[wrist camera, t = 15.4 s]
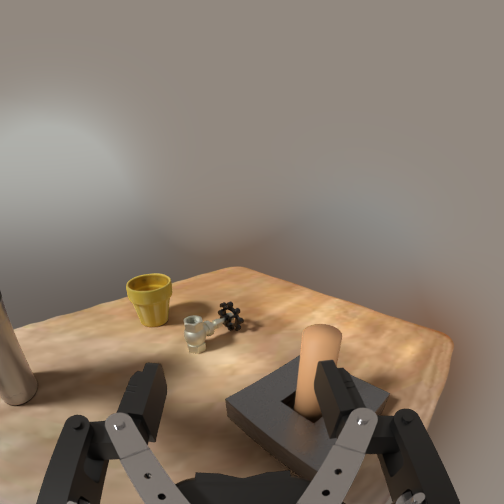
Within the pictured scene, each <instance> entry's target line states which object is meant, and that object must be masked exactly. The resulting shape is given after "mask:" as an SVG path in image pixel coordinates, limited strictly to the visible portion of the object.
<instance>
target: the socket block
mask: <svg viewBox="0 0 504 504" xmlns="http://www.w3.org/2000/svg"><path fill="white" fill-rule="evenodd" d="M299 362H300V355H299V356H298V357H296V358H295V359H293V360H291V361H290V362H288V363H287V364H285V365H284V366H282V367H280V368H279V369H277V370H275V371H274V372H272V373H270V374H269V375H267V376H265V377H264V378H262V379H260V380H259V381H257V382H255V383H253V384H252V385H250V386H248V387H246V388H244V389H243V390H241V391H239V392H237V393H235V394H233V395H232V396H230V397H228V398H226V399H225V400H226V408H227V416H228V417H229V418H230V419H231V420H232V421H233V422H234V423H235V424H236V425H237V426H238V427H240V428H241V429H242V430H243V431H244V432H245V433H246V434H247V435H249V436H250V437H251V438H252V439H253V440H254V441H256V442H257V443H258V444H259V445H260V446H262V447H263V448H264V449H265V450H266V451H268V452H269V453H270V454H271V455H273V456H274V457H275V458H276V459H278V460H279V461H280V462H282V463H283V464H284V465H286V466H287V467H288V468H290V469H291V470H292V471H294V472H295V473H296V474H298V475H299V476H301V477H302V478H305V479H308V480H310V481H312V480H313V478H314V477H315V475H316V474H317V472H318V470H319V469H320V467H321V466H322V464H323V462H324V461H325V459H326V457H327V455H328V454H329V452H330V450H331V448H332V447H333V445H334V444H335V443H336V441H337V438H333V439H330V438H329V435H328V432H327V429H326V426H325V423H324V420H323V416H322V417H321V418H320V419H319V420H318V421H317V422H316V423H312V422H310V421H309V420H307V419H306V418H304V417H303V416H301V415H300V414H298V413H297V412H295V411H294V410H292V409H293V408H294V405H295V397H296V389H297V380H298V371H299ZM351 377H352V379H353V382H354V384H355V386H356V388H357V390H358V392H359V394H360V396H361V398H362V400H363V402H364V404H365V406H366V408H368V409H371V410H372V411H374V412H375V413H376V415H380V414H381V412H382V411H383V409H384V406H385V404H386V402H387V399H388V397H389V395H390V393H388V392H386V391H384V390H382V389H379V388H377V387H375V386H373V385H371V384H369V383H367V382H365V381H363V380H360V379H358V378H356V377H354V376H352V375H351Z"/></svg>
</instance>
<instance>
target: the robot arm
mask: <svg viewBox="0 0 504 504" xmlns="http://www.w3.org/2000/svg"><path fill="white" fill-rule="evenodd" d="M37 387H38V384H37V380H36V378H35V376H34V374H33V373H32V371H31V369H30V367H29V364H28V362H27V360H26V358H25V356H24V354H23V351H22V349H21V347H20V345H19V342H18V340H17V338H16V335H15V333H14V330H13V328H12V325H11V322H10V320H9V317H8V314H7V311H6V308H5V305H4V302H3V299H2V295H1V292H0V396H1V397H2V399H3V400H4V401H5V402H6V403H7V404H10V405H20V404H23V403H25V402H27V401H28V400H30V399H31V398H32V397H33V396H34V394H35V393H36V390H37ZM314 391H315V395H316V398H317V401H318V404H319V407H320V410H321V413H322V416H323V420H324V423H325V426H326V429H327V432H328V435H329V438H330V439H333V438H337V441H336V443H335V444H334V445H333V447H332V448H331V450H330V452H329V454H328V455H327V457H326V459H325V461H324V462H323V464H322V466H321V467H320V469H319V470H318V472H317V474H316V475H315V477H314V478H313V480H312V481H310V480H308V479H305V478H302V477H298V476H291V475H290V470H288V471H278V472H266V473H263V474H259V475H255V476H251V477H247V478H238V477H233V476H228V475H223V474H219V473H197V472H196V475H195V478H190V479H186V480H183V481H181V482H179V483H177V484H174V483H173V481H172V480H171V479H170V477H169V476H168V475H167V473H166V472H165V470H164V469H163V467H162V466H161V465H160V463H159V462H158V460H157V459H156V457H155V456H154V454H153V453H152V451H151V450H150V448H149V447H148V446H147V445H148V441H149V442H156V437H157V433H158V428H159V424H160V420H161V416H162V411H163V407H164V403H165V399H166V395H167V384H166V380H165V377H164V373H163V369H162V365H161V364H158V363H146V364H145V367H144V369H143V372H140V371H137V372H136V373H135V374H134V375H133V376H132V377H131V378H130V381H129V383H128V386H127V388H126V392H125V393H124V395H123V398H122V400H121V403H120V405H119V408H118V410H117V413H114V414H112V415H110V416H109V417H108V418H107V419H106V421H98V422H89V421H88V419H87V418H86V417H84V416H82V415H74V416H71V417H70V418H68V419H67V420H66V422H65V424H64V427H63V429H62V432H61V434H60V436H59V439H58V441H57V444H56V447H55V449H54V452H53V454H52V457H51V460H50V463H49V465H48V468H47V471H46V474H45V477H44V480H43V483H42V486H41V490H40V493H39V496H38V500H37V503H36V504H100V500H101V495H102V490H103V485H104V480H105V476H106V471H107V467H108V463H109V460H111V459H120V462H121V464H122V466H123V467H124V469H125V471H126V473H127V475H128V477H129V478H130V480H131V482H132V483H133V485H134V487H135V489H136V490H137V492H138V493H139V495H140V497H141V498H142V500H143V501H144V503H145V504H345V503H344V502H342V501H343V499H344V498H345V496H346V494H347V492H348V490H349V488H350V486H351V484H352V482H353V480H354V478H355V476H356V474H357V472H358V470H359V468H360V466H361V464H362V461H363V459H364V457H365V454H377V455H378V458H379V461H380V464H381V467H382V470H383V473H384V476H385V479H386V482H387V485H388V489H389V492H390V495H391V498H392V501H393V503H392V504H460V502H459V499H458V497H457V494H456V492H455V490H454V487H453V485H452V483H451V481H450V478H449V476H448V474H447V472H446V470H445V467H444V465H443V463H442V461H441V459H440V457H439V455H438V453H437V451H436V449H435V447H434V445H433V442H432V440H431V439H430V437H429V435H428V433H427V431H426V429H425V427H424V425H423V423H422V421H421V419H420V417H419V415H418V414H417V413H416V412H415V411H413V410H411V409H401V410H399V411H397V412H396V413H395V415H394V416H379V415H376V413H375V412H374V411H372V410H371V409H368V408H366V406H365V404H364V402H363V400H362V398H361V396H360V394H359V392H358V390H357V388H356V386H355V384H354V382H353V379H352V377H351V375H350V373H348V372H347V371H346V370H345V369H344V368H337V367H336V364H335V362H334V360H324V361H319V362H318V364H317V369H316V374H315V379H314Z"/></svg>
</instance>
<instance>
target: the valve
mask: <svg viewBox="0 0 504 504" xmlns="http://www.w3.org/2000/svg"><path fill="white" fill-rule="evenodd" d="M220 307H223V309H221V310H219V311H218V314H219V315H220V316H221V317H220V319H215V320H213V321H212V322H209V321H205V322H203V321H202V318H201V317H200V316H188V317H186V318H185V319H184V326H185V330H184V338H185V341H186V342H187V344H188V349H189V352H190V353H195V354H200V353H202V352H203V351H205V350H206V344H205V339H206V336H211V335H213V334H214V330H215V329H217V328H219V327H221V326H222V324H223V325H225V327H227V328H228V330H230V331H231V330H233V329H234V326H235V327H236V329H235V330H236V331H238V330H240V329H241V326H240V325H239V324H241V323H243V322H244V320H243V318H240V317H239V316H238V314H239V313H240V309H239V308H236V309H234V308H233V303H232V302H228V303H227V304H226V303H225V302H224V303H221V304H220ZM227 309H228V310H230V311H232V313H233V314H234V315H233V314H232V313H226V310H227ZM234 318H235V323H231V321H232V320H234Z"/></svg>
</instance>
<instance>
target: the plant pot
mask: <svg viewBox="0 0 504 504" xmlns="http://www.w3.org/2000/svg"><path fill="white" fill-rule="evenodd" d="M126 289H127V294H128V298H129V300H130V302H132V303H133V305H134V307H135V310H136V312H137V314H138V317H139V319H140V321H141V323H142V324H143V325H144V326H147V327H157V326H161V325H163V324H165V323H166V322H167V320H168V312H169V300H170V297H171V295H172V284H171V279H170V278H169V277H168V276H166V275H163V274H145V275H140V276H137V277H135V278H132V279H131V280H129V281H128V282H127V285H126Z"/></svg>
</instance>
